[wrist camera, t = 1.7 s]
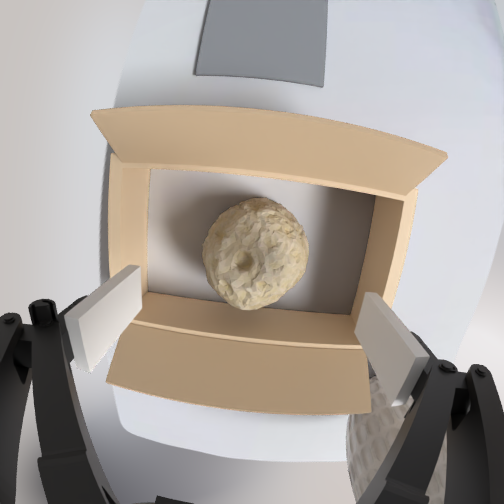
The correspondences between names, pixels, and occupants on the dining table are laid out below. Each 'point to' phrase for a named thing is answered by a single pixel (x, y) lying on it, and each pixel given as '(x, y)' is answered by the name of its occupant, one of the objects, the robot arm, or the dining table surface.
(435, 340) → the dining table surface
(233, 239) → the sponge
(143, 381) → the carton
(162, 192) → the dining table surface
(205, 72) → the mat
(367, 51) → the dining table surface
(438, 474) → the vase
